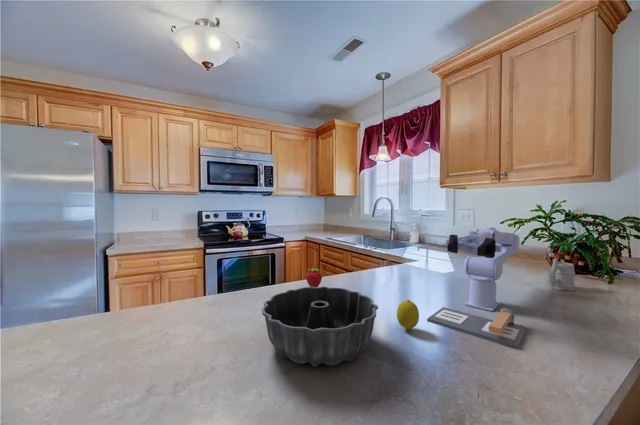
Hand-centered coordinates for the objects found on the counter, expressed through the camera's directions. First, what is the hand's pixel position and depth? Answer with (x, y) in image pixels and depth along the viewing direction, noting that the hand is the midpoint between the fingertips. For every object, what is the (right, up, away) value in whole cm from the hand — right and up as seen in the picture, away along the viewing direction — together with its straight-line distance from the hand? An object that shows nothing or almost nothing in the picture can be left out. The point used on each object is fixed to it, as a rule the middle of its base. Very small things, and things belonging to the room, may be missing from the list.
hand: (463, 249), depth 77 cm
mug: (+56, -20, +34) cm, 68 cm away
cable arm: (+8, -19, -4) cm, 21 cm away
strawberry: (-42, -19, +28) cm, 54 cm away
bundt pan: (-40, -21, -12) cm, 46 cm away
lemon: (-16, -21, -3) cm, 27 cm away
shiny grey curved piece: (+13, -21, +1) cm, 24 cm away
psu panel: (+3, -21, -1) cm, 21 cm away
